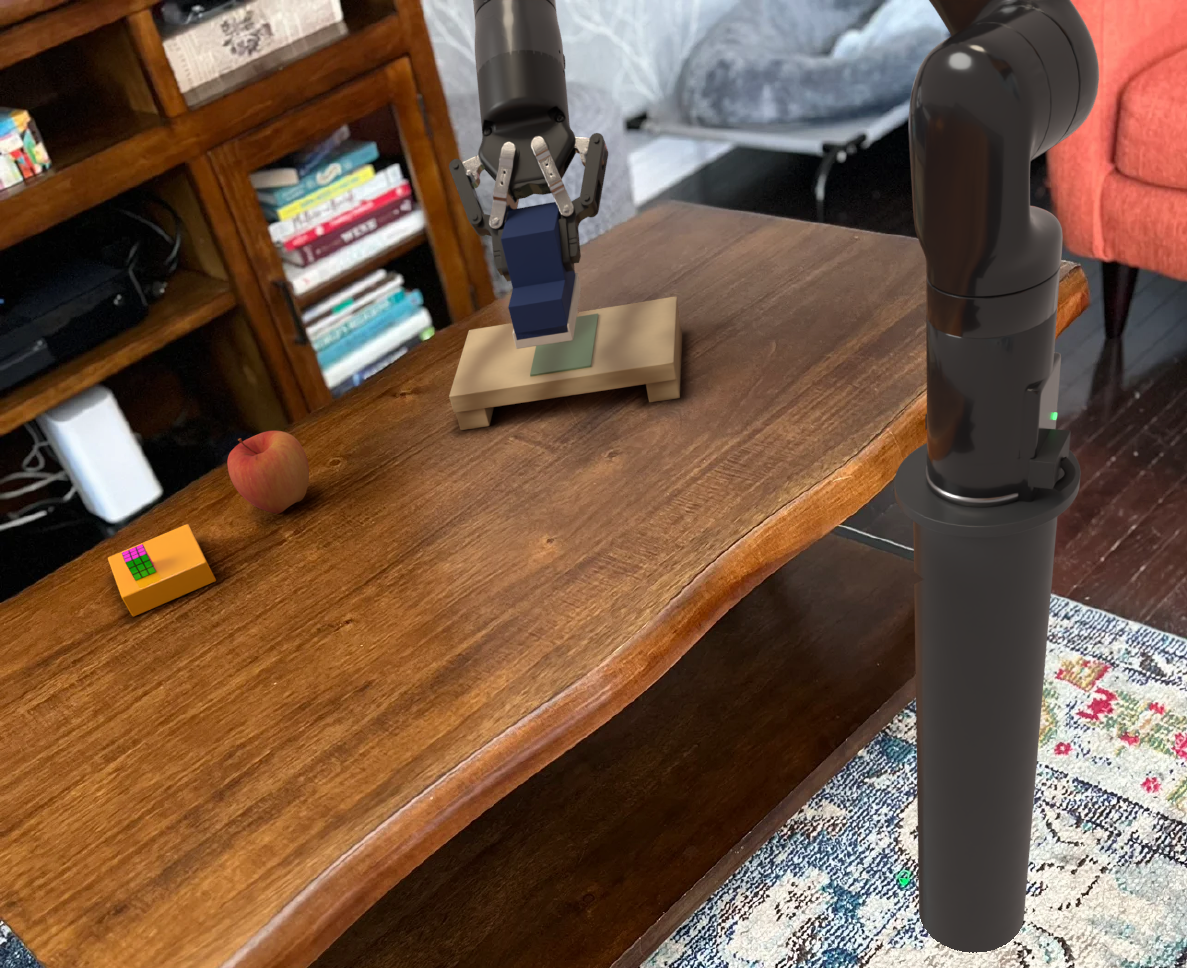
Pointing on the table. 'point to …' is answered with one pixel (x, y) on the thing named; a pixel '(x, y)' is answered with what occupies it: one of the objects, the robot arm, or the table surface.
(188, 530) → the orange rectangular box
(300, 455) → the apple
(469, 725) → the table surface
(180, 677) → the table surface
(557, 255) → the trainer
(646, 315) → the shoe shelf
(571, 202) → the robot arm
